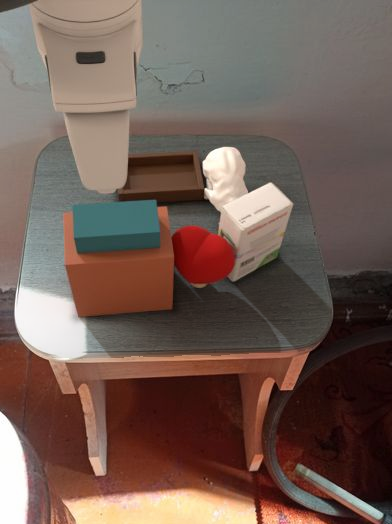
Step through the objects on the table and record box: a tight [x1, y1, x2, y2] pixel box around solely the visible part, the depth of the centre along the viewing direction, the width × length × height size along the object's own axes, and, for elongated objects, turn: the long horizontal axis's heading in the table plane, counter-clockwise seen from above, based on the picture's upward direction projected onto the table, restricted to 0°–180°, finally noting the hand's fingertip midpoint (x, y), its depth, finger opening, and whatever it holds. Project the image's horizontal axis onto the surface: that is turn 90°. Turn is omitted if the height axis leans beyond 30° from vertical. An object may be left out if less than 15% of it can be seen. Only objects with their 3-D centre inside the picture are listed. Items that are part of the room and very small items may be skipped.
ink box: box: [217, 182, 294, 283], centre depth 78 cm, size 8×5×12 cm, turn 125°
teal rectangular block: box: [71, 200, 160, 254], centre depth 68 cm, size 10×5×3 cm, turn 98°
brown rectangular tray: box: [117, 150, 205, 203], centre depth 88 cm, size 13×8×2 cm, turn 97°
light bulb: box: [171, 224, 235, 289], centre depth 76 cm, size 9×7×10 cm
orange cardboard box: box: [62, 206, 175, 318], centre depth 74 cm, size 13×8×12 cm, turn 97°
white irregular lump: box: [202, 146, 249, 225], centre depth 84 cm, size 6×8×12 cm
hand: (103, 153), depth 58 cm, fingers open, 8 cm apart
